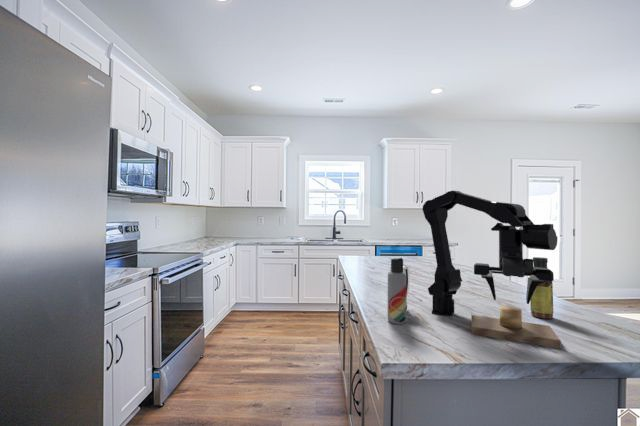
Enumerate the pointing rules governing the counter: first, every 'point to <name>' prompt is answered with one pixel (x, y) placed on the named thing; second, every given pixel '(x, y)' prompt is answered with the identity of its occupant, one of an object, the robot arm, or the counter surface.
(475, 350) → the counter surface
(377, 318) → the counter surface
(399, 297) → the lotion bottle
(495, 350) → the counter surface
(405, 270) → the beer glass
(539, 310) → the sauce bottle
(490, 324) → the walnut board
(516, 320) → the oak peg
